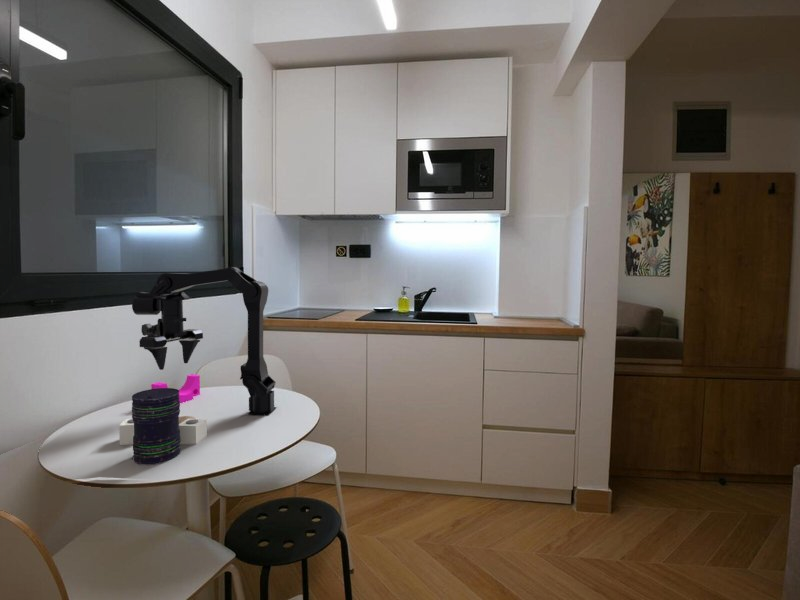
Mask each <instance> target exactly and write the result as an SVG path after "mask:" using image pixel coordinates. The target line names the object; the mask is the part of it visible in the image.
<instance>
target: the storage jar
mask: <svg viewBox="0 0 800 600" xmlns="http://www.w3.org/2000/svg"><path fill="white" fill-rule="evenodd" d="M131 401H132V402H131V405H132V406H131V413H132V416H131V419H133V421H134V436H133V444H132V452H133V462H134V463H135V464H136V465H142V466H144V465H145V466H150V465H158V464H163V463H166V462H170V461H171V460H173V459H175V458H177V457H178V456H179V455H180V454H181V448H180V447H181V444H180V442H181V436H180V429H179V417H180V416H179V415H180V414H181V413H180V412H181V410H180V408H181V407H180V406H181V404H180V401H179V389H177V388H172V387H170V388H169V387H168V388H157V389H150V388H149V389H146V390H142V391H138V392H135V393H134V394H132V396H131Z"/></svg>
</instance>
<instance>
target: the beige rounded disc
mask: <svg viewBox="0 0 800 600" xmlns="http://www.w3.org/2000/svg"><path fill="white" fill-rule="evenodd" d="M187 419H197V418H196V417H194V416H190V415H189V416H188V415H185V416H179V424H180V423H182V422H184V421H185V420H187Z"/></svg>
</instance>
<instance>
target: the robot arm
mask: <svg viewBox="0 0 800 600" xmlns="http://www.w3.org/2000/svg"><path fill="white" fill-rule="evenodd" d="M222 282H229V283H231V285H233V287H235V289H236V290H238V291H239V292H241V293H242V299H243V303H244V306H245V308H246V311H247V360H246V362H244V363H243V364H242V365H240V377H239V380H241V381H242V384H243V385H242V386H244V387H245V388H246V389H247V392H248V393H249V396H250V397H248V411H249V412H247V415H248V416H249V415H250V416H252V415H253V416H270V415H271V414H272V413H273V412H274V411H276V409H277V407H276V406H275V390H273V389H274V388H275V386H276V381H275V380H274V379H273V378H272V377H271V376H270V375H269V371H268V366H267V362H266V361H265V358H264V310H265V308H266V305H267V302H268V295H269V287H268V285H267V284H266V283H265V282H263V281H259V280H257V279H255V278H254V277H251V276H250V275H248V274H246V273H245V272H244V271H242V270H241V269H239V268H238V267H236V266H234V267H233V266H228V267H225V268H219V269H212V270H207V271H200V272H199V271H198V272H192V273H186V272H184V273H183V272H182V273H181V272H179V273H178V272H164V273H161V274H160V275H159V276H158V277H157V280H156V283H155V285H154V286H153V287H152V289H151V290H150V291H149V292H146V291H145V292H144V291H139V292H136V296H135V297H134V299H133V301H132V304H131V309H132V312H133V313H134V314H135V315H138V316H154V315H156V316H157V315H159V314H160V313H161V315H160V317H161V318H158V319H157V324H153V325H152V324H151V323H144V324H141V328H140V329H141V334H142V337H140V339H139V341H138V342H139V348H143V349H144V350H147V351H149V352H150V353H151V354H152V356H153V358H154V360H155V363H156V364H157V366H158V368H159V370H162V371H163V370H164V368H165V364H166V358H167V353H168V346H166V345H167V343H169V342H170V343H171V342H175V341H178V342H179V343H180V345H181V346H182V348H181V349H182V360H183V363H184V364H188V363H189V361H190V359H191V356H192V355H193V353H194V350H195V349H196V347H197V346H198V343H200V342H201V339H204V334H203V330H201V329H194V328H192V329H191V328H189V329H184V322H187V317H184V308H183V307H184V306H183V303H184V302H183V301H187V300H190V299H191V297H190V296H189V295H188V294H186V293H185V292H184V290H187V289H190V288H193V287H195V286H201V285H208V284H214V283H215V284H216V283H222ZM178 292H179V293H178ZM173 293H174V294H173ZM175 293H177V294H175ZM163 296H166V297H163Z"/></svg>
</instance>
